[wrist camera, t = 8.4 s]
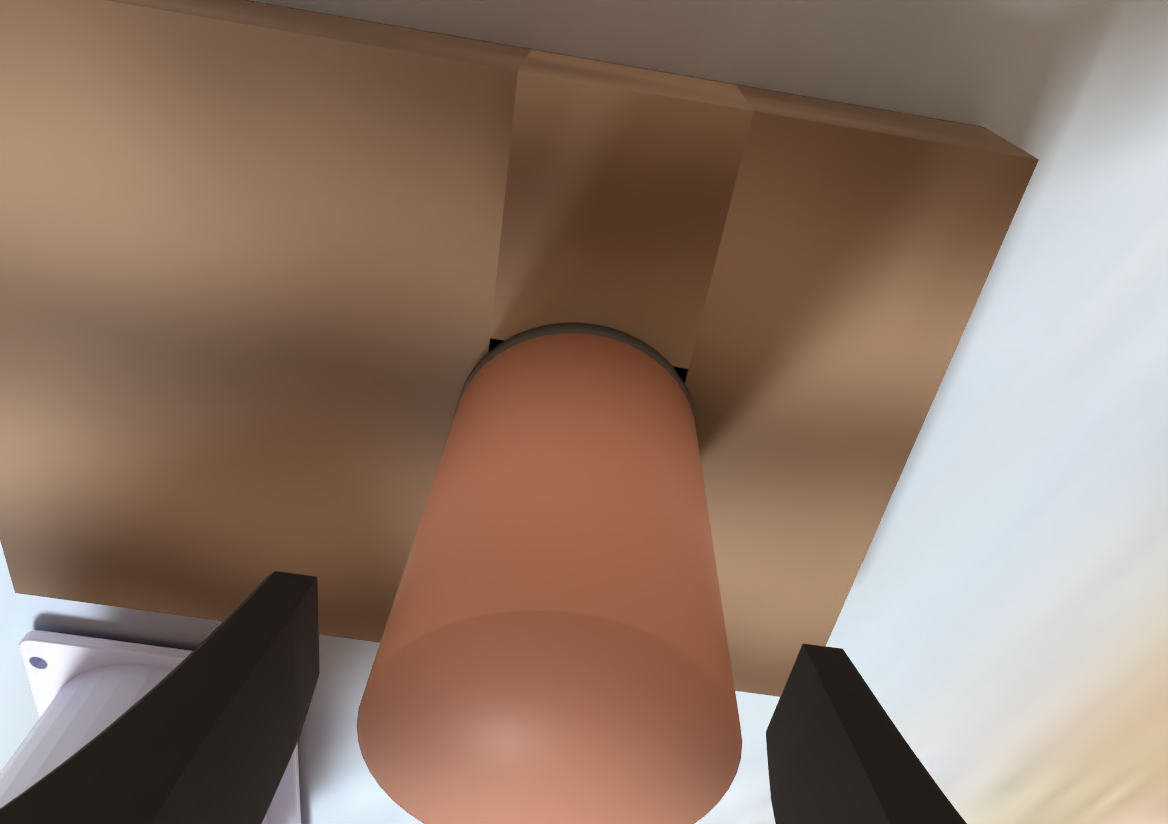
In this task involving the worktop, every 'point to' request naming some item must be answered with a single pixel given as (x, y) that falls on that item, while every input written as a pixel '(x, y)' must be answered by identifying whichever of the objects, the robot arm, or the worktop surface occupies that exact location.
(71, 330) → the board
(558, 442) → the peg
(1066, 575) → the worktop surface
